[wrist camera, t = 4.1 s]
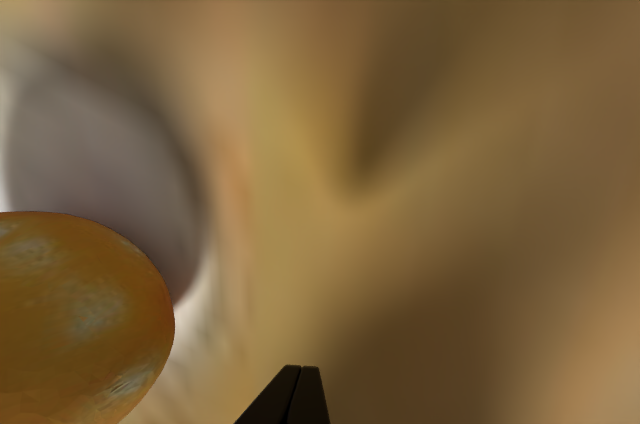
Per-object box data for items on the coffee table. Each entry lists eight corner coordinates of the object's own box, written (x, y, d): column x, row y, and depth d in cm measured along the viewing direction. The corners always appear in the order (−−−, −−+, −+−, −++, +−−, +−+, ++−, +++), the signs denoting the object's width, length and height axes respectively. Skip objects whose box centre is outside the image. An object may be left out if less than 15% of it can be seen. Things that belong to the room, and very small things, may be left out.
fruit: (109, 458, 13) (-154, 753, 5) (-50, 344, 13) (-546, 469, 5) (232, 291, 15) (168, 328, 7) (89, 188, 15) (-140, 105, 7)
